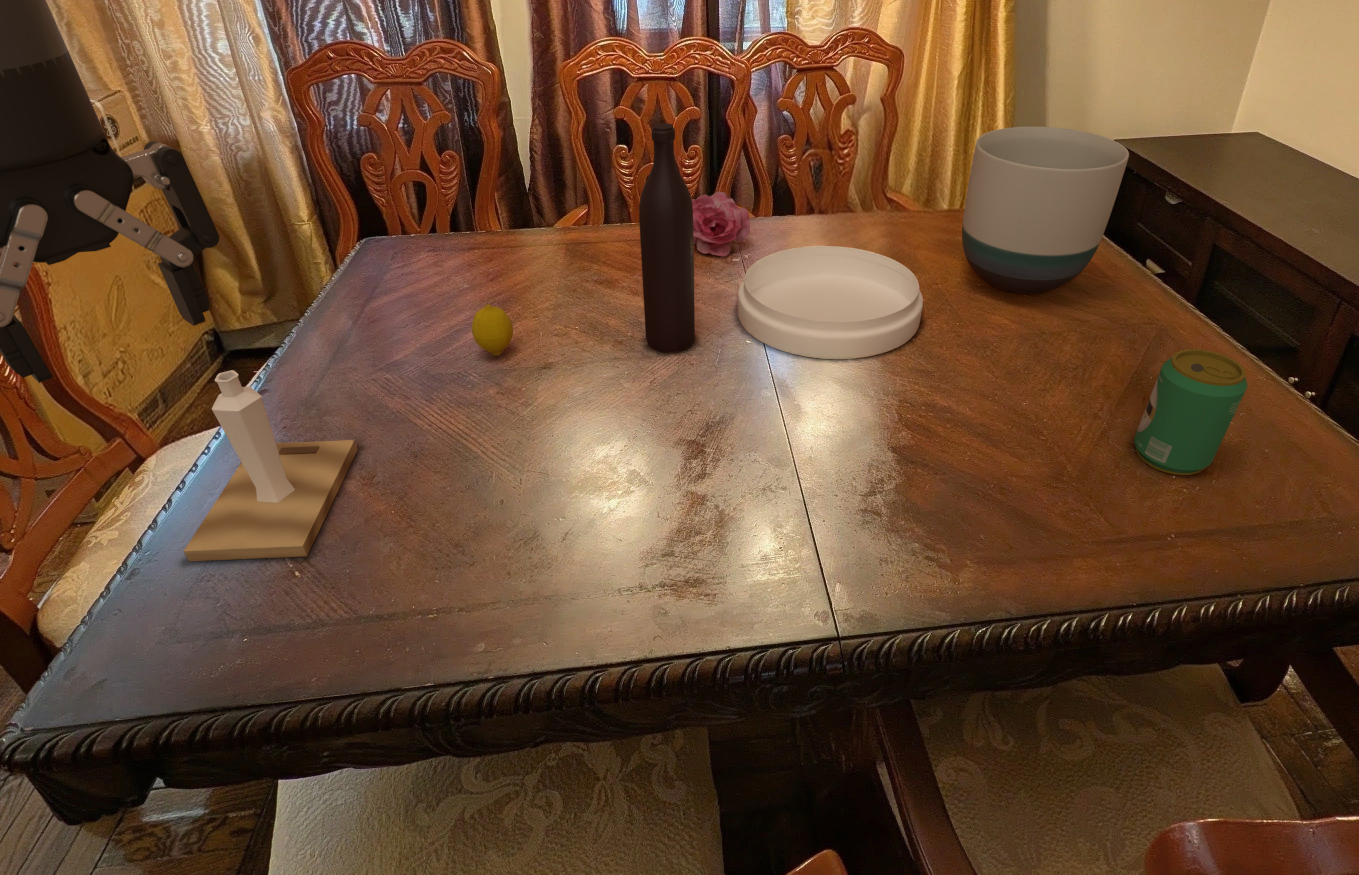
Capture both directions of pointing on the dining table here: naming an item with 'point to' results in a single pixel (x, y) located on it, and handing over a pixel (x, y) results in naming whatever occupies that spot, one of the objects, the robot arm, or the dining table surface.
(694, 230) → the flower
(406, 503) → the dining table surface
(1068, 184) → the planter
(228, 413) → the perfume bottle
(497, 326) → the fruit
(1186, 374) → the beverage can
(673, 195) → the wine bottle
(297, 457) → the serving board
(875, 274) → the plate
